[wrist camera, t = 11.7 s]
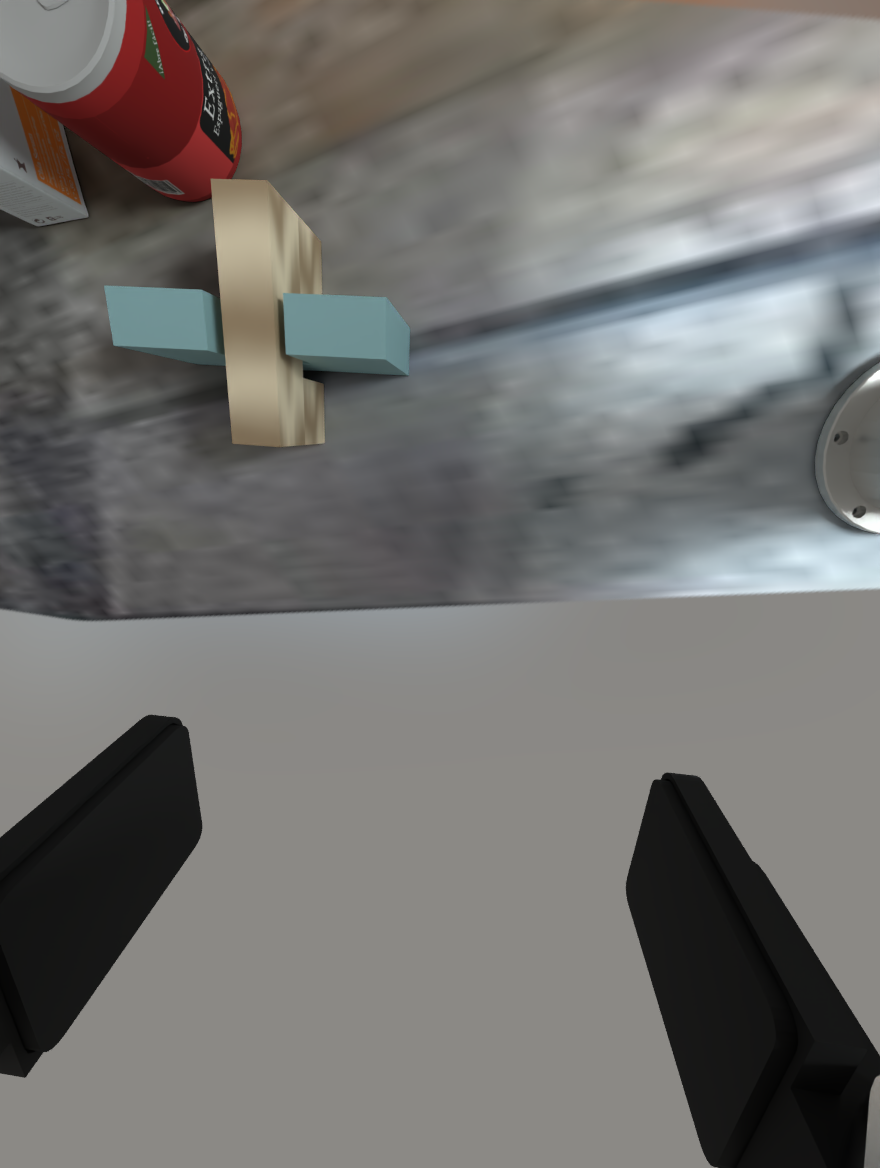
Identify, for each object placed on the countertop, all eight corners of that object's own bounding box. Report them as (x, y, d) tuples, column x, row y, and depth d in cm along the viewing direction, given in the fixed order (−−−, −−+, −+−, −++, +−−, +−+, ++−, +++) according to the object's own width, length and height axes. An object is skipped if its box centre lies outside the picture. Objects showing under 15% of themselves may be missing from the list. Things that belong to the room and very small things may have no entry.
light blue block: (410, 328, 32) (386, 297, 24) (408, 375, 33) (385, 359, 25) (191, 318, 33) (104, 285, 25) (196, 364, 34) (113, 345, 26)
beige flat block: (278, 240, 31) (210, 178, 23) (321, 241, 31) (267, 180, 23) (286, 440, 35) (232, 443, 27) (324, 443, 35) (280, 447, 27)
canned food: (268, 165, 30) (150, 21, 19) (173, 232, 31) (18, 134, 21) (202, 26, 28) (32, -217, 17) (105, 106, 29) (-103, -71, 19)
